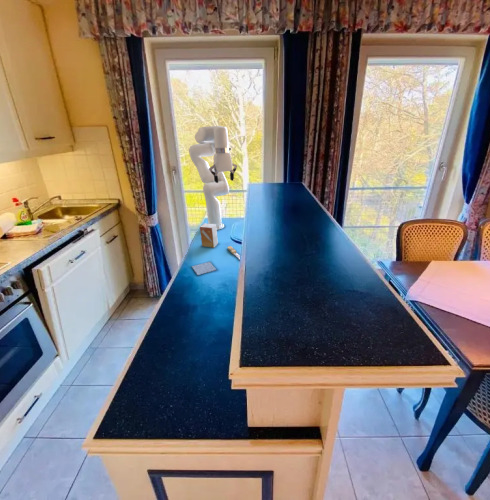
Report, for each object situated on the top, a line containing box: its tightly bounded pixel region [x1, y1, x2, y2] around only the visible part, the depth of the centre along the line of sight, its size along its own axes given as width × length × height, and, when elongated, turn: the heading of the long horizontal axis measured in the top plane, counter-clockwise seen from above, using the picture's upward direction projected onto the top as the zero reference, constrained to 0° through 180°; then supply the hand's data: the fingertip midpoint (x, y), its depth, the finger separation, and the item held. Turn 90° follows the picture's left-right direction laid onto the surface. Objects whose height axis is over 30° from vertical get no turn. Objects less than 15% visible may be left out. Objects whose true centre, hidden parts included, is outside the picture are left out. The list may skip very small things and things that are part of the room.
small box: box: [199, 222, 219, 249], centre depth 169 cm, size 8×6×13 cm
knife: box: [227, 245, 241, 261], centre depth 159 cm, size 17×2×2 cm, turn 28°
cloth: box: [191, 261, 217, 276], centre depth 146 cm, size 10×10×1 cm
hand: (224, 181), depth 164 cm, fingers open, 9 cm apart
